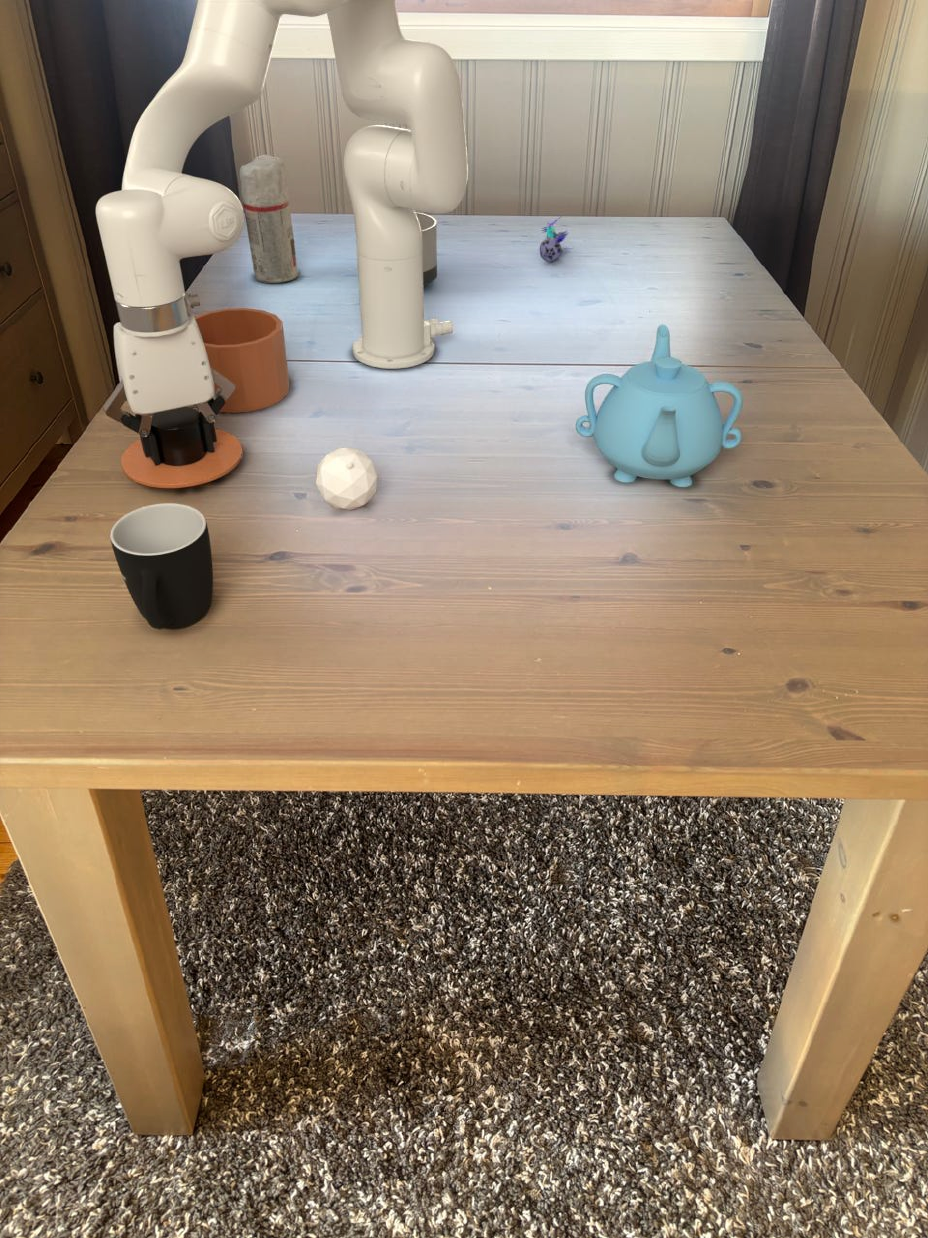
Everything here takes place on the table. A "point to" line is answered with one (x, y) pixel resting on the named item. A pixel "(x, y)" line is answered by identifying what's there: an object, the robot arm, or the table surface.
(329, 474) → the ornament
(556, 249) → the figurine
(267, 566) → the table surface
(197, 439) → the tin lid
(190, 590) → the mug
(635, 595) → the table surface
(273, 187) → the spray can
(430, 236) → the planter
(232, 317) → the orange hollow cylinder
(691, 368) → the teapot
